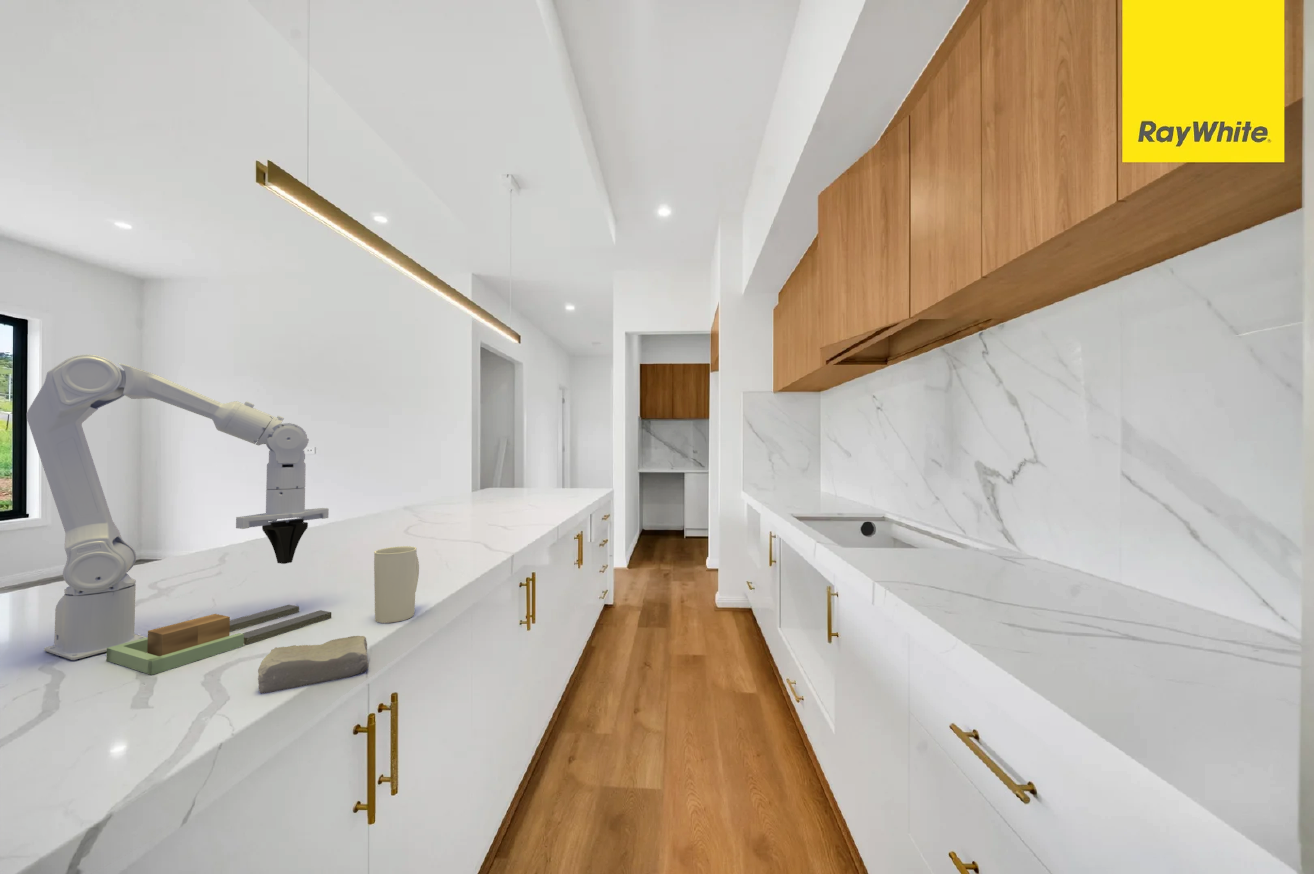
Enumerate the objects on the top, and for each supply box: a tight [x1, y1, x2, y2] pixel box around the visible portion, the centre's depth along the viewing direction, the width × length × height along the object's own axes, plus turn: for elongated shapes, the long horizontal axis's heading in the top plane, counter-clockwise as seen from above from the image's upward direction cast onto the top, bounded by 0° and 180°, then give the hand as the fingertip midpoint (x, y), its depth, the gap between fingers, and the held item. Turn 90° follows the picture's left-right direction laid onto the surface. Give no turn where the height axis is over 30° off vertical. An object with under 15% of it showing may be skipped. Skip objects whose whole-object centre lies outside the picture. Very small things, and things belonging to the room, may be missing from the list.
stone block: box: [257, 635, 369, 695], centre depth 66 cm, size 12×5×10 cm
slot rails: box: [230, 604, 332, 645], centre depth 83 cm, size 12×13×1 cm
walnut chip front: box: [146, 621, 198, 656], centre depth 71 cm, size 4×4×4 cm
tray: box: [105, 632, 245, 676], centre depth 72 cm, size 12×10×2 cm
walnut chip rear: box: [183, 613, 231, 645], centre depth 75 cm, size 4×4×4 cm
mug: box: [373, 545, 420, 624], centre depth 89 cm, size 10×7×12 cm, turn 173°
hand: (284, 562), depth 89 cm, fingers closed
